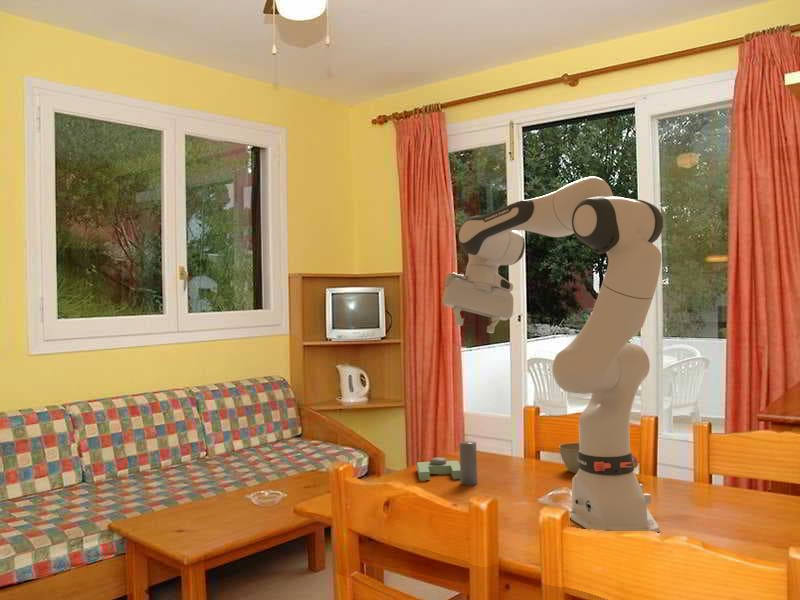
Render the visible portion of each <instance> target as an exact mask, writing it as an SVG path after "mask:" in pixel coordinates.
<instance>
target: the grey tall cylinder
mask: <svg viewBox="0 0 800 600" xmlns="http://www.w3.org/2000/svg"><path fill="white" fill-rule="evenodd" d="M477 453H478V452H477V442H476V441H474V440H473V441H472V440H469V441H467V440H466V441H460V442H459V464H460V471H461V479H460V485H462V486H465V487H467V486H468V487H471V486H476V485H478V484H479V483H478V459H477V458H478V455H477Z"/></svg>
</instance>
